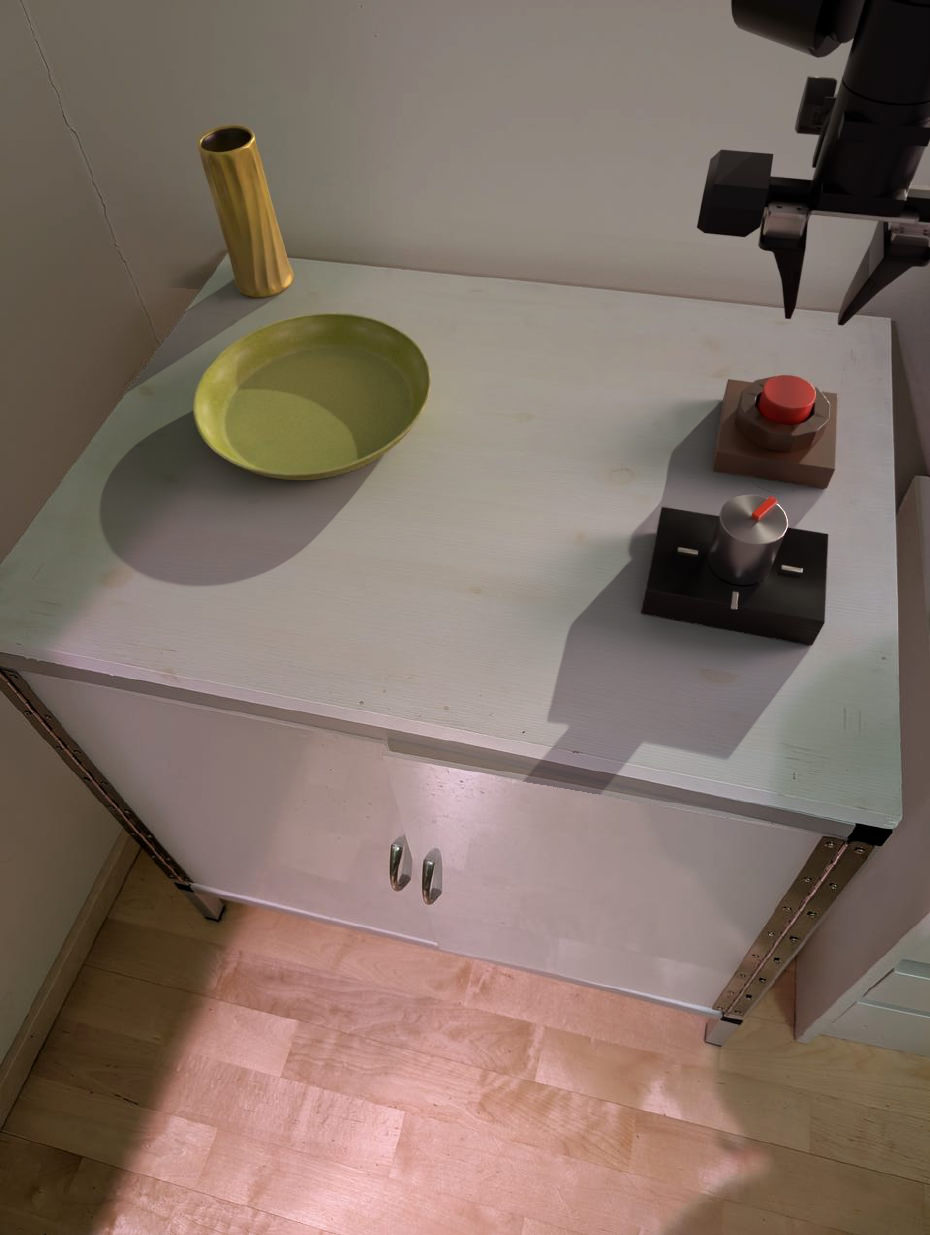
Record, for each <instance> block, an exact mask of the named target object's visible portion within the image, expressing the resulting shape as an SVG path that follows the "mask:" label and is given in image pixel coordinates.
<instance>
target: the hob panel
mask: <svg viewBox="0 0 930 1235" xmlns="http://www.w3.org/2000/svg"><path fill="white" fill-rule="evenodd" d="M718 518H719V515H717V514H716V515H715V514H709V513H703V512H698V511H697V512H696V511H691V510H685V509H678V508H672V507H666V506H661V508H660V512H659V517H658V522H657V525H656V526H657V527H656V531H655V537H654V542H653V547H652V553H651V556H650V557H651V558H650V563H649V568H648V573H647V580H646V585H645V589H644V595H643V600H642V604H641V610H640V614H641V615H646V616H652V617H657V618H662V619H667V620H671V621H678V622H684V623H687V624H688V623H689V624H694V625H699V626H703V627H704V626H705V627H709V628H715V629H720V630H726V631H731V632H736V633H740V634H746V635H752V636H756V637H762V638H767V639H773V640H778V641H783V642H789V643H792V644H793V643H794V644H800V645H804V646H810V647H812V646H813V645H814V643H815V642H816V640H817V638H818V636H819V634H820V633H821V630H822V629H823V627H824V625H825V623H826V608H827V607H826V605H827V583H828V580H827V579H828V559H829V558H828V557H829V533H825V532H819V531H812V530H806V529H801V528H794V527H787V530H786V533H785V535H784V538H783V540H782V542H781V545H780V547H779V550H778V552H777V555H776V557H775V560H774V562H773V565H772V567H771V569H770V572H769V574H768V575H767V576H766V577H765V578H764V579H763V580H761V581H760V582H757V583H755V584H750V585H737V584H732V583H729V582H727V581H725V580H723V579H721V578H720V577H718V576H717V575H716V574H715V573H714V572H713V571H712V569H711V568H710V566H709V563H708V552H709V548H710V545H711V542H712V538H713V535H714V531H715V528H716V525H717V521H718Z"/></svg>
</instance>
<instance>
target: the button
mask: <svg viewBox="0 0 930 1235" xmlns="http://www.w3.org/2000/svg"><path fill="white" fill-rule="evenodd" d="M774 376H775V377H773V376H772V377H773V378H771V379H769V380H768V381H767V382H766V383H765V385H764V387H763V390H762V393H761V397H760V400H759V404H758V407H759V410H760V412H761V414H762V415H763V416H764V417H765V418H767V419H768V420H770V421H772V422H774V423H777V424H784V425H795V424H799V423H801V422H803V421H804V420H806V419H807V417H808V416H809V414H810V411H811V409H812V406H813V403H814V401H815V398H816V392H815V389H814V387H815V386H814V385H812V384H811V383H810V382H809V381H808V380H807V379H804V378H802V377H799V376H796V375H791V374H780V375H774ZM813 386H814V387H813Z"/></svg>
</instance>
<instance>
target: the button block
mask: <svg viewBox="0 0 930 1235" xmlns="http://www.w3.org/2000/svg"><path fill="white" fill-rule="evenodd" d="M775 376H776V375H774V376H769V377H764V378H760V379H756V380H754V381H745V380H739V379H731V378H728V379H727V382H726V386H725V390H724V394H723V398H722V401H721V402H722V403H721V408H720V416H719V422H718V429H717V437H716V442H715V443H716V444H715V450H714V456H713V463H712V470H711V471H712V472H716V473H722V474H730V475H735V476H740V477H741V476H742V477H748V478H753V479H754V478H755V479H760V480H761V479H762V480H769V481H773V482H781V483H787V484H793V485H800V486H806V487H813V488H820V489H825V490H826V489H828V488H829V485H830V483H831V480H832V478H833V475H834V473H835V471H836V461H837V460H836V459H837V434H838V408H839V406H838V405H839V393H836V392H829V391H828V392H827V391H821V390H820V389H819V388H818V387H816V386H814V385H812V386H813V387H814V389H815V392H816V398H815V401H814V403H813V406H812V409H811V411H810V414H809V416H808V417H807V419H806V420H804V421H803V422H801V423H799V424H795V425H784V424H777V423H774V422H772V421H770V420H768V419H767V418H765V417H764V416H763V415H762V414H761V412H760V410H759V407H758V404H759V400H760V397H761V393H762V390H763V387H764V385H765V383H766V382H767V381H768V380H769V379H771V378H773V377H775Z"/></svg>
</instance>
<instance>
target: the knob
mask: <svg viewBox="0 0 930 1235" xmlns="http://www.w3.org/2000/svg"><path fill="white" fill-rule="evenodd" d="M718 516H719V518H718V521H717V525H716V528H715V531H714V535H713V538H712V542H711V545H710V548H709V552H708V563H709V566H710V568H711V569H712V571H713V572H714V573H715V574H716V575H717V576H718V577H720V578H721V579H723V580H725V581H727V582H729V583H732V584H737V585H750V584H755V583H757V582H760V581H761V580H763V579H764V578H765V577H766V576H767V575H768V574H769V572H770V569H771V567H772V565H773V562H774V560H775V557H776V555H777V552H778V550H779V547H780V545H781V542H782V540H783V538H784V535H785V533H786V530H787V527H788V526H789V521H788V517H787V514H786V511H785V510H784V509H783V508H782V507H781V506H780V505H779V504H778V499H776V498H775V497H772V496H769V497H766V496H762V495H757V494H741V495H737V496H734V497H732V498H730V499H729V500H727V501H726V502H724V504H723V505H722V507H721V509H720V511H719V515H718Z"/></svg>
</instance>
